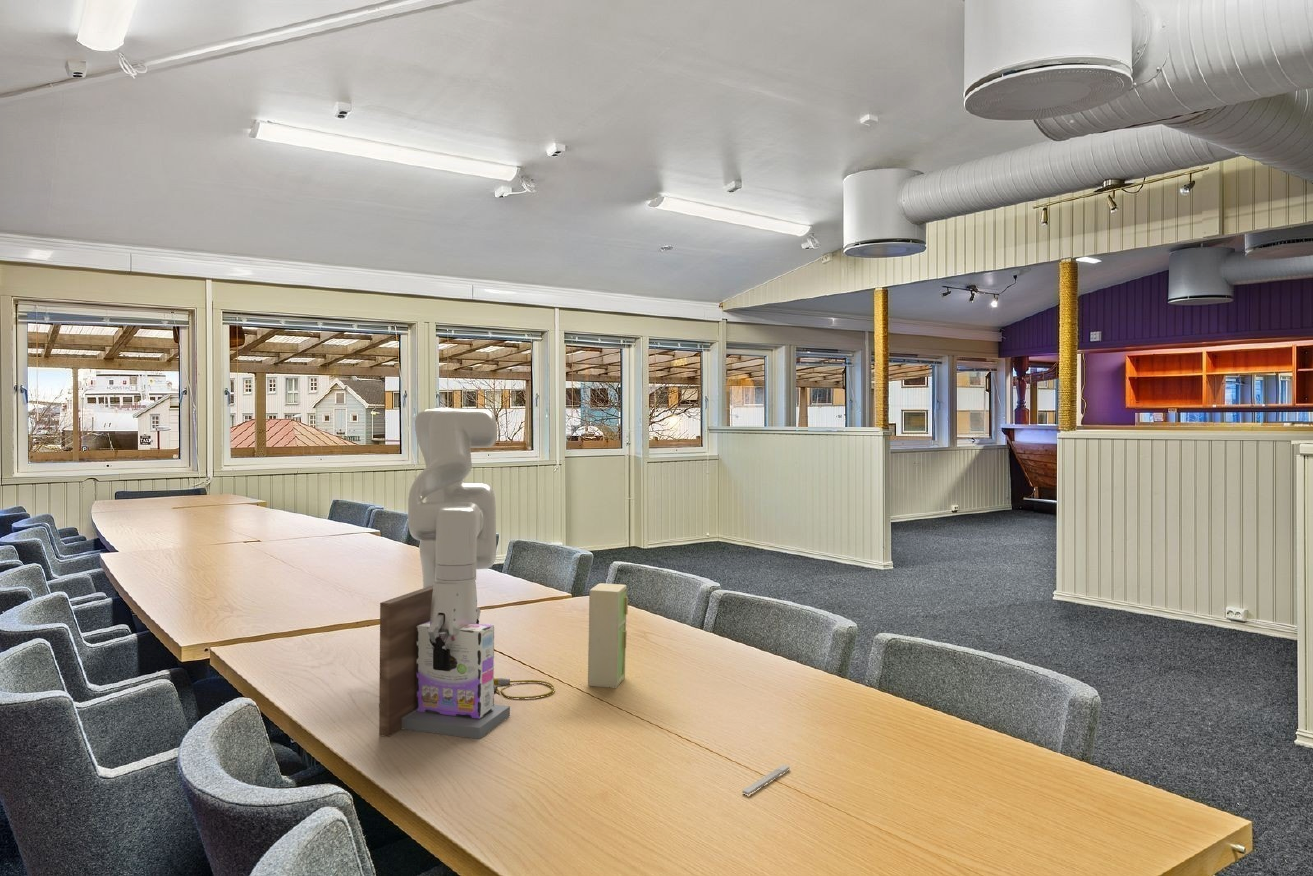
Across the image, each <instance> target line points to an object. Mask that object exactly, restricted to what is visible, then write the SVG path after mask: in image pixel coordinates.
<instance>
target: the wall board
mask: <svg viewBox="0 0 1313 876" xmlns="http://www.w3.org/2000/svg"><path fill="white" fill-rule="evenodd" d="M433 588H434V585H432V586H429V587H426V588H423V587H422V588H420V589H418V590H414V591H411V592H408V593H406V594H405V593H404V594H402V595H400V596H396V597H394V598H391V599H390V598H389V599H388V600H385V601H382V602H379V685H378V687H379V698H378V699H379V703H378V704H379V705H378V706H379V708H378V712H379V713H378V717H379V719H378V723H379V724H378V736H381V737H390V736H393V735H394V734H396V733H397V732H399V731H401V730H403V729H402V718H403V717H404V716H406V715H408V714H409V713H411V712H413V711H415V710H416V708H417V662H416V660H417V632H416V627H417V626H419V625H421V624H424V623H426V622H429V621H430V614H431V601H432V594H433Z"/></svg>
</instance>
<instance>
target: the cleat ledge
mask: <svg viewBox="0 0 1313 876" xmlns="http://www.w3.org/2000/svg"><path fill="white" fill-rule="evenodd" d="M509 716H510V717H511V706H510V705H505V704H496V703H494V710H493V711H491V712H489V713H488V714H486V715H485V716H483V717H481V718H480V719H476V718H468V717H459V716H451V715H443V714H434V713H427V712H418V711H416V710H415V711H413V712H411V713H409V714H408V715H406V716H404V717H403V718H402V729H401V730H408V731H415V732H416V731H417V732H424V733H429V734H430V733H431V734H437V735H439V734H440V735H445V736H446V735H447V736H453V737H454V736H455V737H460V738H468V737H469V739H477V740H480V739H482V738H483V737H484V736H486V735H487V734H488V733H490V732H491V731H492V730H493V728H494V729H495V728H496V727H497V725H498V726H499V725H500V724H502V723H503V722H504V721H506V720H507V719H508V718H510V717H509ZM505 719H506V720H505ZM481 737H482V738H481Z"/></svg>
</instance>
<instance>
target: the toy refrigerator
mask: <svg viewBox="0 0 1313 876" xmlns="http://www.w3.org/2000/svg"><path fill="white" fill-rule="evenodd" d="M627 586H628V585H627V584H620V583H618V584H617V583H602V582H601V583H597V584H596V585H595V586H593V587H592V588H590V589H589V593H588V594H589V596H588V597H589V598H588V599H589V601H588V602H589V603H588V605H589V606H588V652H587V653H588V655H587V656H588V657H587V658H588V660H587V665H588V666H587V685H588V686H589V687H598V688H599V687H601V688H609V687H610V689H611V688H612V689H616V688H618V687H619V686H620V684H621V683H622V681H623V680H624V679H625V677H626V648H627V634H628V631H627V615H628V613H629V612H628V611H629V610H628V608H629V596H627V594H628V593H627V591H628V590H627V589H628V587H627Z"/></svg>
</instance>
